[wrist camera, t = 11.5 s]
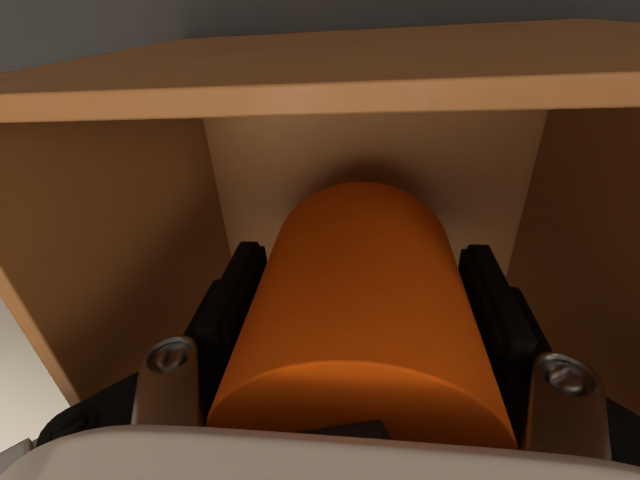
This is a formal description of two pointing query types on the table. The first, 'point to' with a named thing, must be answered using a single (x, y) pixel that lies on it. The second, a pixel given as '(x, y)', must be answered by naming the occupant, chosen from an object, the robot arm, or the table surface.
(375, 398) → the orange cylinder
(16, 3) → the table surface
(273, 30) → the table surface
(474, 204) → the carton
